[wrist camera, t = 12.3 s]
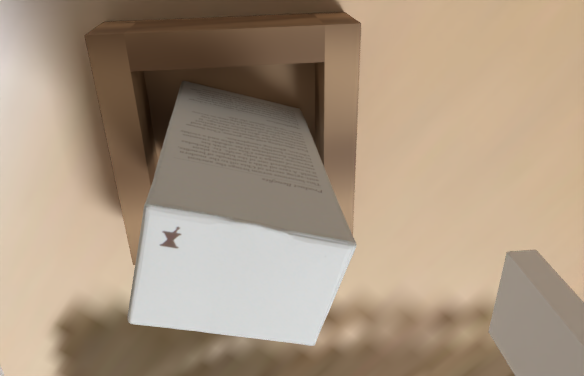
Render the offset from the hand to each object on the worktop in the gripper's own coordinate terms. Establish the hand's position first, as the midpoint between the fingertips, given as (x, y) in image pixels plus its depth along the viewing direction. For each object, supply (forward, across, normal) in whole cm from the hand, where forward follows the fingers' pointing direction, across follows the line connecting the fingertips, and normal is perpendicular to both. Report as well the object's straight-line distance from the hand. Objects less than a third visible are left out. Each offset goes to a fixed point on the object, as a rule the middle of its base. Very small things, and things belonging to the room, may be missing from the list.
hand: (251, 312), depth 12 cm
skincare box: (+14, -1, -1) cm, 14 cm away
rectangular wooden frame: (+14, 0, -1) cm, 14 cm away
